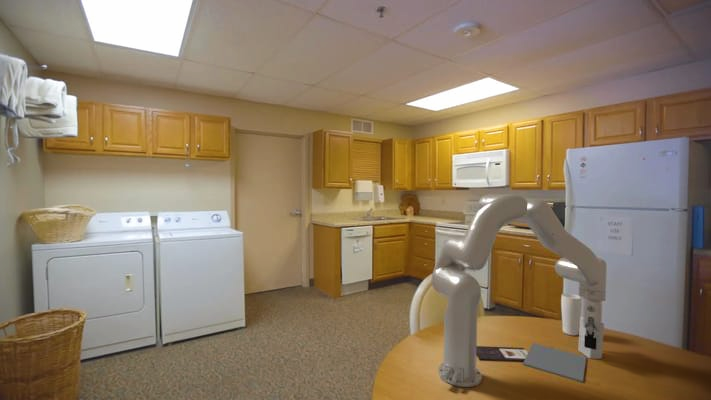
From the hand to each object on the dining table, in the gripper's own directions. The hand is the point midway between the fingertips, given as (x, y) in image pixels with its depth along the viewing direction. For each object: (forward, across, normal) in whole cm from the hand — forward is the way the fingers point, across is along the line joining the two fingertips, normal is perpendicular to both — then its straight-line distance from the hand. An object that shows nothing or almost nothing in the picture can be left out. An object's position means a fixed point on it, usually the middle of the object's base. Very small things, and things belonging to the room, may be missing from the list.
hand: (590, 342), depth 113 cm
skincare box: (+4, 0, 0) cm, 4 cm away
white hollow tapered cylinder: (+4, +16, +7) cm, 18 cm away
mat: (+4, -13, +9) cm, 16 cm away
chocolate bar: (+5, -19, +24) cm, 31 cm away
